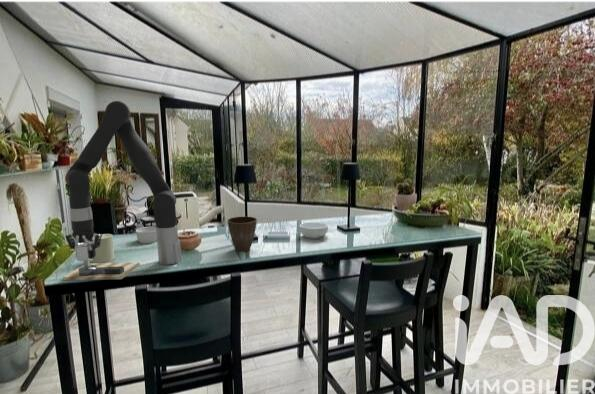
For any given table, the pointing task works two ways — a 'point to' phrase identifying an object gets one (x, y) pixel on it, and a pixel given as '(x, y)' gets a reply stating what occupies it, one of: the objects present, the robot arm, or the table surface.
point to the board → (127, 269)
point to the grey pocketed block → (83, 252)
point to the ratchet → (98, 269)
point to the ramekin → (147, 234)
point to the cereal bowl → (313, 230)
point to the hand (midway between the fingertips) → (86, 258)
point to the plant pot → (242, 232)
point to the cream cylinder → (104, 249)
